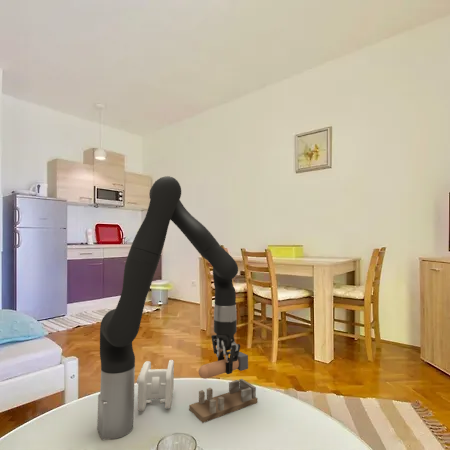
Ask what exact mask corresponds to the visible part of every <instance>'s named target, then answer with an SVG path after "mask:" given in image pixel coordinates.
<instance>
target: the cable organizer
mask: <svg viewBox="0 0 450 450" xmlns="http://www.w3.org/2000/svg"><path fill="white" fill-rule="evenodd" d="M174 371H175V361H174V360H173V359H169V361H168V363H167V368H159V369H158V368H157V369H156V368H152V362H151V361H149V360H146V361H145V362H144V363H143V364H142V366H141V369H140V371H139V373H138V376H137V379H136V385H138V386H137V411H138V412H144V411H145V409H146V406H147V404H152V400H159V402H160V403H159V404H160V405H161V404H162V403H164V406H165V409H171V406H172V402H173V401H172V400H173V394H174V383H175V380H174V377H175V376H174V375H175V373H174Z"/></svg>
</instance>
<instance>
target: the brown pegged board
mask: <svg viewBox="0 0 450 450" xmlns="http://www.w3.org/2000/svg"><path fill="white" fill-rule="evenodd" d="M256 388H257V387H256V386H254V385H253V384H251V383H250V382H248V381H246V380H244V379H243V378H240V379H237V380H236V379H234V380H232V381H229V382H228V391H227V392H225V393H222V394H218V395H216V396H213V393H214V391H213V388H212V387H208V388H206V392H205V390H203V389H202V390H198V401H197V402H194V403H191V404H189V405H188V410H189V412H191V414H193V415H194V416H195V417H196V418H197V419H198V421H200V422H201V423H202V424H204V423H207V422H209V421H212V420H215V419H218V418H220V417H223V416H225V415H228V414H231V413H234V412H236V411H238V410H241V409H245V408H248V407H250V406H252V405H255V404H258V397H257V396H256V393H257V389H256ZM205 394H206V395H205ZM205 396H206V399H205Z"/></svg>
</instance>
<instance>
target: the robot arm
mask: <svg viewBox="0 0 450 450" xmlns="http://www.w3.org/2000/svg"><path fill="white" fill-rule="evenodd" d="M179 182H180V181H178V180H177V179H176V177H175V178H174V177H173V176H171V175H170V176H168V175H167V176H163V177H160V178H158V179H157V180H155V181H154V183H153V184H152V186H151V188H150V190H149V195H148V197H149V199H150V200H149V204H148V207H147V211H146V214H145V217H144V219H143V221H142V223H141V225H140V226H139V228H138V230H137V232H136V234H135V236H134V239H133V241H132V243H131V246H130V249H129V252H128V253H127V256H126V261H125V265H124V270H123V278H122V279H123V280H122V281H123V282H122V289H121V292H120V297H119V300H118V301H117V302H118V303H117V305H116V307H115V308H114V309H111V310H109V311H107V312H106V314H105V315H104V316H103V317H102V319H101V323H100V327H99V359H100V386H99V387H100V390H99V394H98V395H97V419H96V420H97V421H96V424H97V426H96V429H97V433H98V434H99V437H100V439H101V440H102V441H104V440H106V439H107V440H110V439H111V440H113V439H114V440H115V439H119V438H122V437H124V436H126V435H128V434H130V433H131V432H132V430H133V429H134V420H135V418H134V417H135V416H134V412H135V381H136V380H135V377H136V375H135V373H136V370H135V369H136V355H135V353H134V349H133V348H134V347H133V341H134V340H135V339H136V337H138V336H137V335H138V333H139V330H140V328H141V327H140V326H141V322H142V317H143V313H144V308H145V305H146V301H147V297H148V293H149V292H150V288H151V285H152V283H153V280H154V277H155V274H156V271H157V268H158V266H159V265H158V264H159V262H160V259H161V256H162V253H163V250H164V245H165V242H166V237H167V234H168V229H169V225H170V222H172V223H173V224H174V225H175V226H176V227H177V228H178V229H179V230H180V232H182V234H183V235H184V236H185V238H187V240H188V241H189V243H190V244H192V246H193V247H194V248H195V249H196V251H197V252H198V253H199V255H200V256H201V257H202V258H203V259H205V260H206V261H208V263H209V264H210V265H211V267H212V278H213V285H214V308H213V333H214V334H212V335H211V342H212V350H213V353H214V355H215V354H216V357H217V361H220V360H224V359H226V373H225V374H226V375H229V374H232V373H233V372H234V370H233V362H234V361H237V359H238V355H239V352H240V350H241V345H240V343H236V340H235V334H236V333H237V327H238V326H237V323H238V322H237V318H238V317H237V312H238V311H237V305H236V304H237V303H236V302H237V301H236V300H237V298H236V295H237V294H236V289H235V287H234V283H233V279H234V278H235V277H237V275H238V272H239V266H238V263H237V262H236V260H235V259H234V257H232V255H231V254H229V252H228V251H227V250H225V249H224V248H223V247H222V245H221V244H219V242H218V241H217V239H216V238H215V237H214V236H213V234H212V233H211V231H209V229H207V227H206V226H205V225H204V224H202V223H201V222H200V221H199V220H198V219H197V218H196V217H194V216H193V215H192V214H191V213H190V212H189V211H188V210H187V208H186V207H185V206H184V204H183V203H182V201H181V200H180V199H181V197H182V187H181V184H180V183H179Z"/></svg>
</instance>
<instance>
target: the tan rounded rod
mask: <svg viewBox="0 0 450 450" xmlns="http://www.w3.org/2000/svg"><path fill="white" fill-rule="evenodd" d="M248 369H249V355H248V354H246V353H244V352H241V351H239V355H238V359H237V361H234V362H233V371H235V370H237V371H240V372H241V371H245V370H248ZM222 374H226V358H225V359H224V360H220V361H218V360H217V361H212V362H209V363H206V364H205V363H204V364H203V365H201V366H200V367H199V369H198V376H199V377H200V378H201V379H208V378H213V377H216V376H220V375H222Z"/></svg>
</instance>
